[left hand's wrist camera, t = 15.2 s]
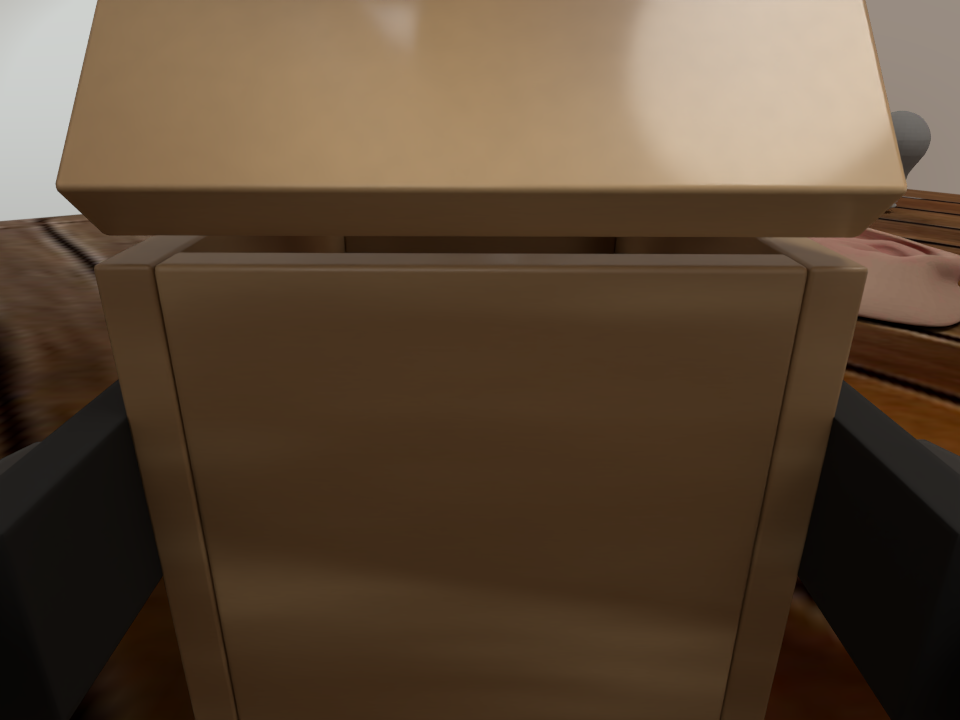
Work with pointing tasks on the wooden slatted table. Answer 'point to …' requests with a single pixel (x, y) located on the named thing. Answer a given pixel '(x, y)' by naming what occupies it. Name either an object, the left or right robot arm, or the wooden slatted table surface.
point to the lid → (482, 119)
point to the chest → (480, 466)
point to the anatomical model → (903, 278)
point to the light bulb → (910, 138)
